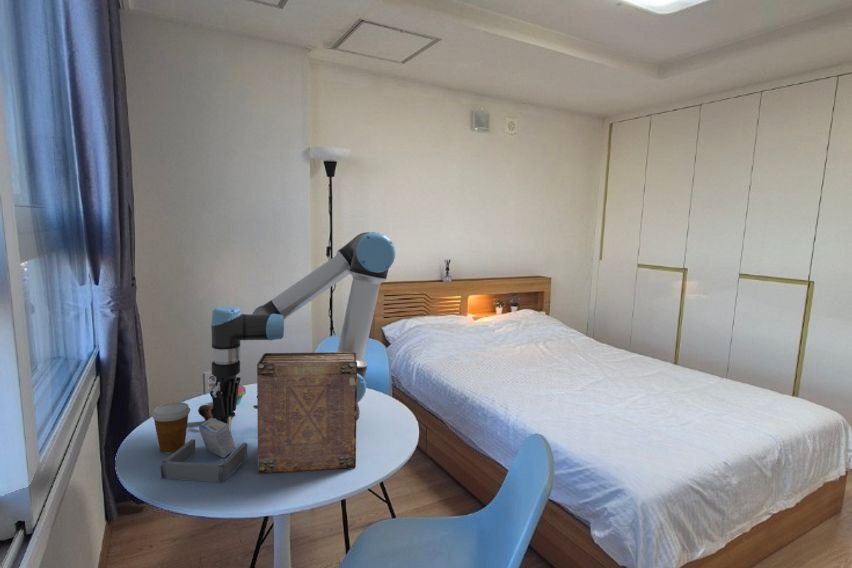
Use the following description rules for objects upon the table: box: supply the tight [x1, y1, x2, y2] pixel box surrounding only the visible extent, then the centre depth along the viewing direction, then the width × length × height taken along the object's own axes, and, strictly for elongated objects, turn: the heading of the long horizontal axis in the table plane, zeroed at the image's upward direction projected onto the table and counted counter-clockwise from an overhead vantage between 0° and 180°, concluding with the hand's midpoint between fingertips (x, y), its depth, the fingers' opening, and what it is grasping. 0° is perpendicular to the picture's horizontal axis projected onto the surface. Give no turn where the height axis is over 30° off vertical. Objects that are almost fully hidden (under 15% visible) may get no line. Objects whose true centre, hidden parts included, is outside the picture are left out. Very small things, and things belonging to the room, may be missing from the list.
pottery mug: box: [197, 403, 236, 422], centre depth 143 cm, size 12×10×8 cm
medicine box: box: [198, 418, 237, 459], centre depth 124 cm, size 8×4×9 cm, turn 58°
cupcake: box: [236, 383, 247, 406], centre depth 160 cm, size 9×8×12 cm
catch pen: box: [160, 438, 248, 483], centre depth 117 cm, size 16×13×4 cm
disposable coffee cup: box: [151, 401, 191, 454], centre depth 126 cm, size 10×10×12 cm
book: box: [256, 351, 357, 475], centre depth 120 cm, size 25×9×30 cm, turn 100°
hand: (225, 437), depth 129 cm, fingers closed
